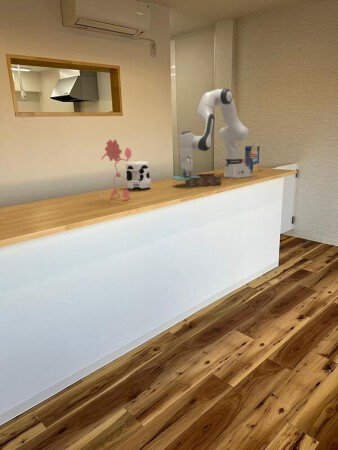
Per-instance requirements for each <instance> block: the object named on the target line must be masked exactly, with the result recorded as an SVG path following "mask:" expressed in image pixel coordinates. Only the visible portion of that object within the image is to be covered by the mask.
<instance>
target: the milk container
mask: <svg viewBox="0 0 338 450" xmlns="http://www.w3.org/2000/svg"><path fill="white" fill-rule="evenodd" d="M125 165H126V166H125V168H126V169H125V172H126V179H128V182H127V180H126V179H125V186H126V185H127V190H131V191H141V190H148V189H150V188H151V186H152V179H151V175H150V164H149V161H145V160H144V161H138V160H137V161H127V162H125Z"/></svg>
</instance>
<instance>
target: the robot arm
mask: <svg viewBox="0 0 338 450" xmlns="http://www.w3.org/2000/svg"><path fill="white" fill-rule="evenodd" d="M218 106H220V107H219V109H220V113H221V116H222V117H221V118H222V121H223V123H224V124H225V125H227V126H223V127H221V128H220V129H219V132H218V137H219V138H220V139H221V141H222V142H223V144H224V146H225V162H224V164H225V165H224V166H225V169H224V173H223V177H225V178H235V179H239V178H248V177H252V176H253V174H252V173H249V169H248V168H247V167H246V166H245V158H243V159H242V158H241V148H240V146H239V145H237V143H236V142H242V141H246V140H247V139H248V138H249V135H250V131H249V128H248V127H246V126H245V125H244V124H243V123H242V121H241V120H240V119H239V116H238V113H237V108H236V105H235V101H234V98H233V93H232V90H231V89H229V88H217V89H214V90H208V91H205V93H204V94H203V96H202V97H201V99H200V101H199V104H198V107H197V109H196V110H197V111H196V116H197V117H198V119H200V120H201V121H202V122H205V127H204V133H203V135H196V134H194V133H193V132H192V131H191V130H185V131H182V132H181V133H180V135H179V136H180V137H179V146H180V149H179V155H178V156H179V163H180V164H179V165H180V168H182V169H183V172H186V176H189V172H191V171H193V170H194V166H193V165H194V162H193V158H194V150H195V151H202V152H206V151H209V150H210V148H211V147H212V143H213V142H212V139H213V132H214V127H215V119H216V118H215V115H214V110H215V107H218Z"/></svg>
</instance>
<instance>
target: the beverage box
mask: <svg viewBox="0 0 338 450" xmlns="http://www.w3.org/2000/svg"><path fill="white" fill-rule="evenodd" d="M244 150H245V151H244V165H245V166H246V167H247V168H248V169H249V174H252V173H258V172H259V166H260V165H259V164H260V163H259V162H260V145H246V146H244Z"/></svg>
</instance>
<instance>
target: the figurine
mask: <svg viewBox="0 0 338 450" xmlns="http://www.w3.org/2000/svg"><path fill="white" fill-rule="evenodd" d="M104 150H105V153H104V155H102V157H101V159H100V160H103V159H104V158H105V157H106V156H107V157H108V158H109V161H111V162H112V161H113V160H114V162H115V163H114V167H115V170H116V173H115V176H114V177H113V182H114V183H113V184H114V186H116V181H115V178H123V179H124V180H125V181H126V180H127V182H128V179H126V178H125V177H123V176H122V175H121V173H120V172H119V171H118V168H117V164H118V163H119V162H120V161H126V162H129V160H130V158H131V157H132V150H131V149H130V148H128V147H126V149H125V150H124V155H125V157H126V159H125V158H121V156H120V155H121V154H122V152H123V151H122V149H120V145H119V143H118V141H117V139H114V140H111V139H108V141H107V142H106V147H105V148H104ZM125 186H126V187H125V189H124V191H123V193H122V197H123V199H124V201H127V200H128V199H129V200H131V197H130V191H129V189H128V188H127V185H126V184H125ZM116 194H117V197H118V198H121V196H120V194H119V193H118V188H117V187H114V189H112V192H111V193H110V199H112V198H113V197H115V195H116ZM105 203H106V204H108V202H107V201H105ZM114 204H115V205H116V204H118V205H119V202H116V203H115V202H114Z"/></svg>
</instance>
